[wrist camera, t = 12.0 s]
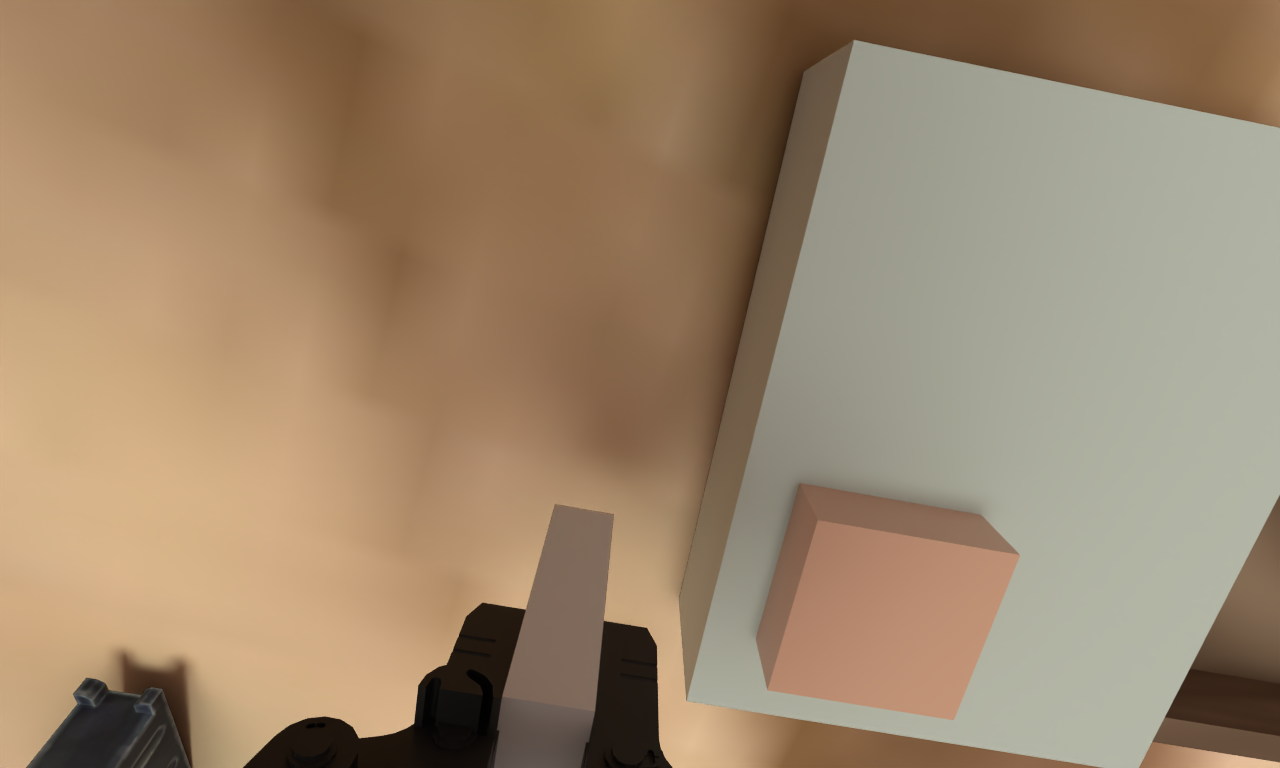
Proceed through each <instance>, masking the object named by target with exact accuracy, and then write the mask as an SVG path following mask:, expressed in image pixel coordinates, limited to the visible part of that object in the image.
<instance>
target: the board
mask: <svg viewBox="0 0 1280 768" xmlns="http://www.w3.org/2000/svg"><path fill="white" fill-rule="evenodd" d="M800 483H802V484H808V485H814V486H819V487H825V488H831V489H836V490H842V491H848V492H854V493H859V494H865V495H871V496H876V497H882V498H888V499H894V500H899V501H905V502H911V503H916V504H922V505H928V506H933V507H939V508H945V509H951V510H956V511H962V512H968V513H973V514H979V515H982V516H983V517H984V518H985V519H986V520H987V521H988V522H989V523H990V524H991V525H992V526H993V527H994V528H995V530H996V531H997V532H998V533H999V534H1000V535H1001V536H1002V537H1003V538H1004V539H1005V540H1006V541H1007V542H1008V543H1009V544H1010V545H1011V546H1012V547H1013V548H1014V549H1015V550H1016V551H1017V552H1018V553H1019V554H1020V557H1019V560H1018V562H1017V565H1016V567H1015V570H1014V572H1013V574H1012V577H1011V579H1010V582H1009V584H1008V587H1007V589H1006V592H1005V594H1004V597H1003V599H1002V602H1001V604H1000V607H999V609H998V612H997V614H996V617H995V619H994V622H993V624H992V627H991V629H990V632H989V634H988V637H987V639H986V642H985V644H984V647H983V649H982V652H981V654H980V657H979V659H978V661H977V664H976V666H975V669H974V671H973V674H972V676H971V679H970V681H969V684H968V686H967V689H966V691H965V694H964V696H963V699H962V701H961V704H960V706H959V709H958V711H957V714H956V716H955V719H954V720H949V719H943V718H936V717H930V716H924V715H918V714H912V713H905V712H899V711H893V710H887V709H880V708H874V707H868V706H862V705H856V704H849V703H843V702H837V701H831V700H824V699H818V698H812V697H806V696H799V695H793V694H787V693H781V692H775V691H768V690H767V686H766V682H765V678H764V674H763V669H762V665H761V661H760V656H759V652H758V648H757V643H756V636H757V633H758V629H759V626H760V622H761V619H762V615H763V611H764V608H765V604H766V601H767V597H768V594H769V590H770V587H771V583H772V580H773V576H774V572H775V569H776V565H777V562H778V558H779V555H780V551H781V548H782V544H783V540H784V537H785V533H786V530H787V526H788V523H789V519H790V516H791V512H792V508H793V505H794V501H795V498H796V494H797V491H798V487H799V484H800ZM1279 495H1280V128H1277V127H1273V126H1268V125H1263V124H1258V123H1253V122H1248V121H1244V120H1239V119H1234V118H1229V117H1224V116H1219V115H1215V114H1210V113H1205V112H1200V111H1195V110H1190V109H1186V108H1181V107H1176V106H1171V105H1166V104H1161V103H1156V102H1152V101H1147V100H1142V99H1137V98H1132V97H1127V96H1123V95H1118V94H1113V93H1108V92H1103V91H1098V90H1094V89H1089V88H1084V87H1079V86H1074V85H1069V84H1065V83H1060V82H1055V81H1050V80H1045V79H1040V78H1036V77H1031V76H1026V75H1021V74H1016V73H1011V72H1007V71H1002V70H997V69H992V68H987V67H982V66H978V65H973V64H968V63H963V62H958V61H953V60H949V59H944V58H939V57H934V56H929V55H924V54H919V53H915V52H910V51H905V50H900V49H895V48H890V47H886V46H881V45H876V44H871V43H866V42H861V41H857V40H853V41H852V42H850V43H849V44H847V45H845V46H844V47H842V48H841V49H839V50H837V51H836V52H834V53H833V54H831V55H829V56H828V57H826V58H825V59H823V60H821V61H820V62H818V63H817V64H815V65H813V66H812V67H810V68H809V69H807V70H805V71H804V73H803V77H802V81H801V85H800V89H799V94H798V98H797V102H796V106H795V111H794V115H793V119H792V123H791V128H790V132H789V136H788V140H787V144H786V149H785V153H784V157H783V161H782V166H781V170H780V174H779V178H778V183H777V187H776V191H775V195H774V199H773V204H772V208H771V212H770V216H769V221H768V225H767V229H766V233H765V238H764V242H763V246H762V250H761V254H760V259H759V263H758V267H757V271H756V276H755V280H754V284H753V288H752V292H751V297H750V301H749V305H748V309H747V314H746V318H745V322H744V326H743V331H742V335H741V339H740V343H739V347H738V352H737V356H736V360H735V364H734V369H733V373H732V377H731V381H730V386H729V390H728V394H727V398H726V402H725V407H724V411H723V415H722V419H721V424H720V428H719V432H718V436H717V441H716V445H715V449H714V453H713V457H712V462H711V466H710V470H709V474H708V479H707V483H706V487H705V491H704V496H703V500H702V504H701V508H700V512H699V517H698V521H697V525H696V529H695V534H694V538H693V542H692V546H691V551H690V555H689V559H688V563H687V567H686V572H685V576H684V580H683V584H682V589H681V593H680V597H679V608H680V622H681V635H682V648H683V662H684V675H685V688H686V701H688V702H694V703H700V704H707V705H713V706H719V707H726V708H732V709H738V710H744V711H751V712H757V713H763V714H770V715H776V716H782V717H788V718H795V719H801V720H807V721H814V722H820V723H826V724H833V725H839V726H845V727H851V728H858V729H864V730H870V731H877V732H883V733H889V734H895V735H902V736H908V737H914V738H921V739H927V740H933V741H939V742H946V743H952V744H958V745H965V746H971V747H977V748H984V749H990V750H996V751H1002V752H1009V753H1015V754H1021V755H1028V756H1034V757H1040V758H1046V759H1053V760H1059V761H1065V762H1072V763H1078V764H1084V765H1090V766H1097V767H1103V768H1139V766H1140V764H1141V762H1142V760H1143V758H1144V756H1145V754H1146V752H1147V751H1148V749H1149V747H1150V745H1151V743H1152V741H1153V739H1154V737H1155V735H1156V733H1157V731H1158V729H1159V727H1160V725H1161V723H1162V722H1163V720H1164V718H1165V716H1166V714H1167V712H1168V710H1169V708H1170V706H1171V704H1172V702H1173V700H1174V698H1175V696H1176V694H1177V692H1178V691H1179V689H1180V687H1181V685H1182V683H1183V681H1184V679H1185V677H1186V675H1187V673H1188V671H1189V669H1190V667H1191V665H1192V663H1193V662H1194V660H1195V658H1196V656H1197V654H1198V652H1199V650H1200V648H1201V646H1202V644H1203V642H1204V640H1205V638H1206V636H1207V634H1208V632H1209V631H1210V629H1211V627H1212V625H1213V623H1214V621H1215V619H1216V617H1217V615H1218V613H1219V611H1220V609H1221V607H1222V605H1223V603H1224V602H1225V600H1226V598H1227V596H1228V594H1229V592H1230V590H1231V588H1232V586H1233V584H1234V582H1235V580H1236V578H1237V576H1238V574H1239V573H1240V571H1241V569H1242V567H1243V565H1244V563H1245V561H1246V559H1247V557H1248V555H1249V553H1250V551H1251V549H1252V547H1253V545H1254V543H1255V542H1256V540H1257V538H1258V536H1259V534H1260V532H1261V530H1262V528H1263V526H1264V524H1265V522H1266V520H1267V518H1268V516H1269V514H1270V513H1271V511H1272V509H1273V507H1274V505H1275V503H1276V501H1277V499H1278V497H1279Z"/></svg>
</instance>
